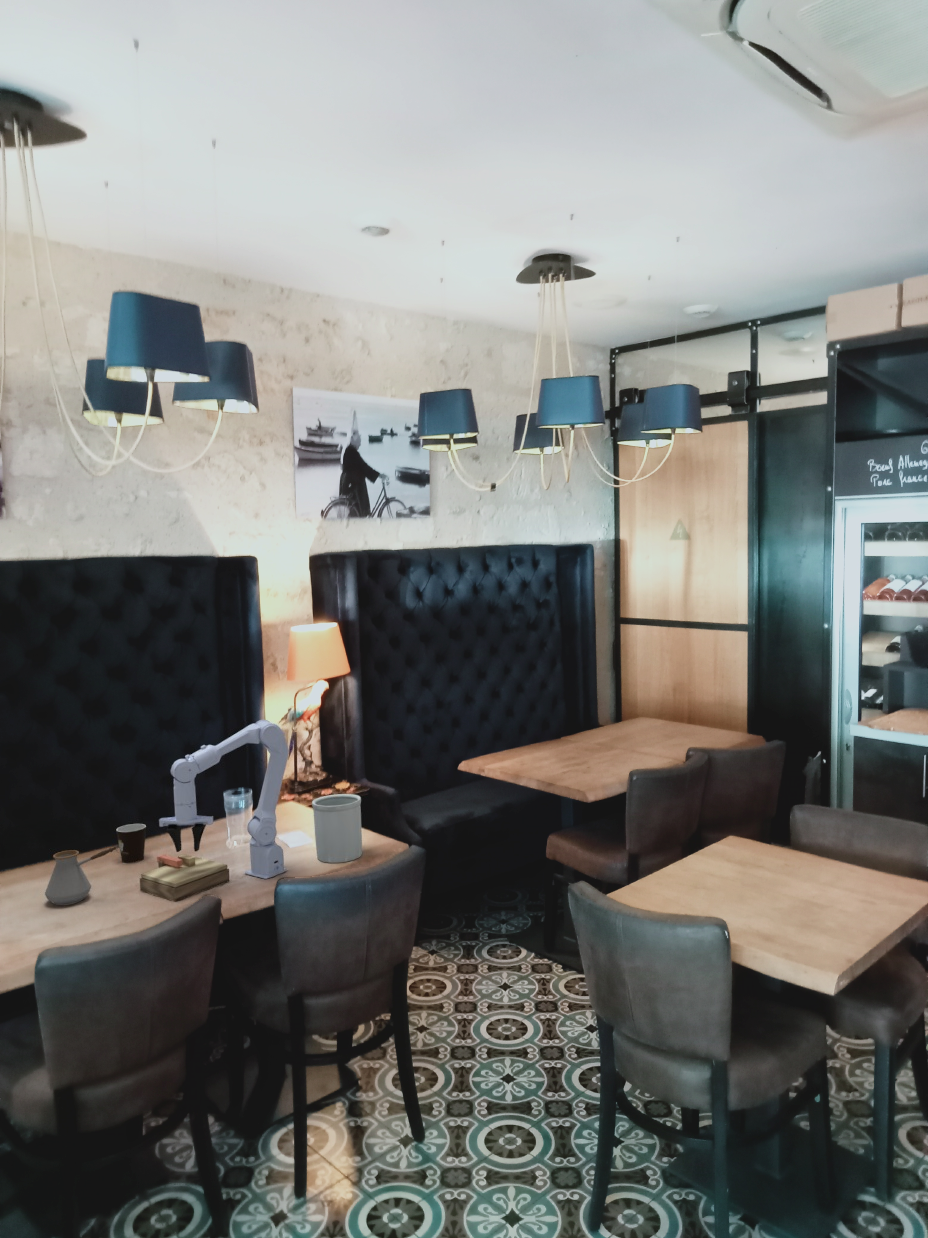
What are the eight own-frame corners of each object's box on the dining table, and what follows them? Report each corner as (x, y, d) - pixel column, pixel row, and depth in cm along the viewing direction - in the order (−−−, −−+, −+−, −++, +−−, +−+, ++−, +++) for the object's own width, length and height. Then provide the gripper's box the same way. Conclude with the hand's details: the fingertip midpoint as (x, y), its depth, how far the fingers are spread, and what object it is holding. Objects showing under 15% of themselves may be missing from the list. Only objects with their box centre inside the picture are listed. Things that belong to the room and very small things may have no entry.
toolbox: (229, 881, 247) (228, 860, 246) (175, 901, 232) (174, 880, 232) (191, 870, 257) (190, 851, 257) (136, 889, 242) (135, 869, 242)
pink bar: (183, 865, 246) (183, 859, 246) (176, 867, 244) (176, 861, 244) (164, 860, 251) (164, 854, 251) (157, 862, 249) (156, 856, 249)
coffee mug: (148, 861, 267) (146, 829, 266) (118, 866, 264) (116, 833, 263) (147, 850, 278) (145, 820, 277) (118, 855, 275) (116, 823, 274)
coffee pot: (36, 908, 231) (33, 853, 230) (60, 892, 243) (57, 839, 242) (112, 908, 229) (109, 852, 228) (133, 892, 240) (130, 839, 240)
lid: (227, 868, 246) (226, 857, 246) (175, 887, 232) (174, 875, 232) (193, 859, 255) (192, 848, 255) (141, 877, 241) (140, 866, 241)
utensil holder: (305, 856, 266) (302, 800, 265) (346, 845, 276) (343, 790, 275) (331, 867, 255) (329, 808, 254) (373, 855, 265) (370, 798, 264)
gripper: (215, 798, 245) (218, 845, 246) (164, 799, 246) (167, 847, 246) (207, 804, 238) (210, 853, 239) (155, 806, 239) (158, 855, 239)
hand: (187, 850), depth 242 cm, fingers open, 4 cm apart
